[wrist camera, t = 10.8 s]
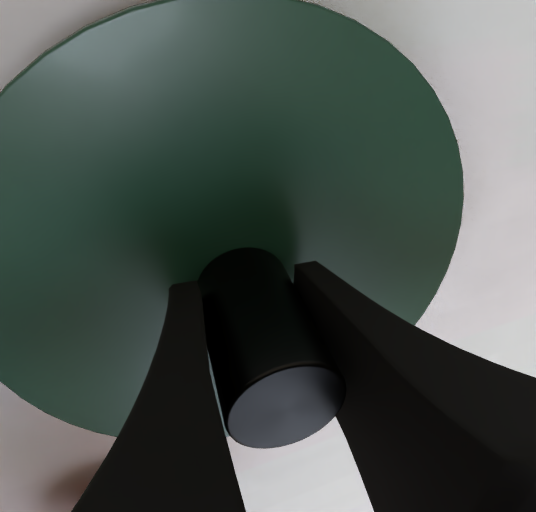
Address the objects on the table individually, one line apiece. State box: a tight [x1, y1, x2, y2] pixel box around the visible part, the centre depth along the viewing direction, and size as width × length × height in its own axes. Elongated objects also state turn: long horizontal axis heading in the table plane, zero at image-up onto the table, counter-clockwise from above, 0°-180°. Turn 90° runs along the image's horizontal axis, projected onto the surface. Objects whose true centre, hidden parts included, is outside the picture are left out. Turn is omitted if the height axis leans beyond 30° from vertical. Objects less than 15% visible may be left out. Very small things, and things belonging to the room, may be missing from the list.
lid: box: [0, 0, 464, 449], centre depth 11 cm, size 14×14×5 cm
